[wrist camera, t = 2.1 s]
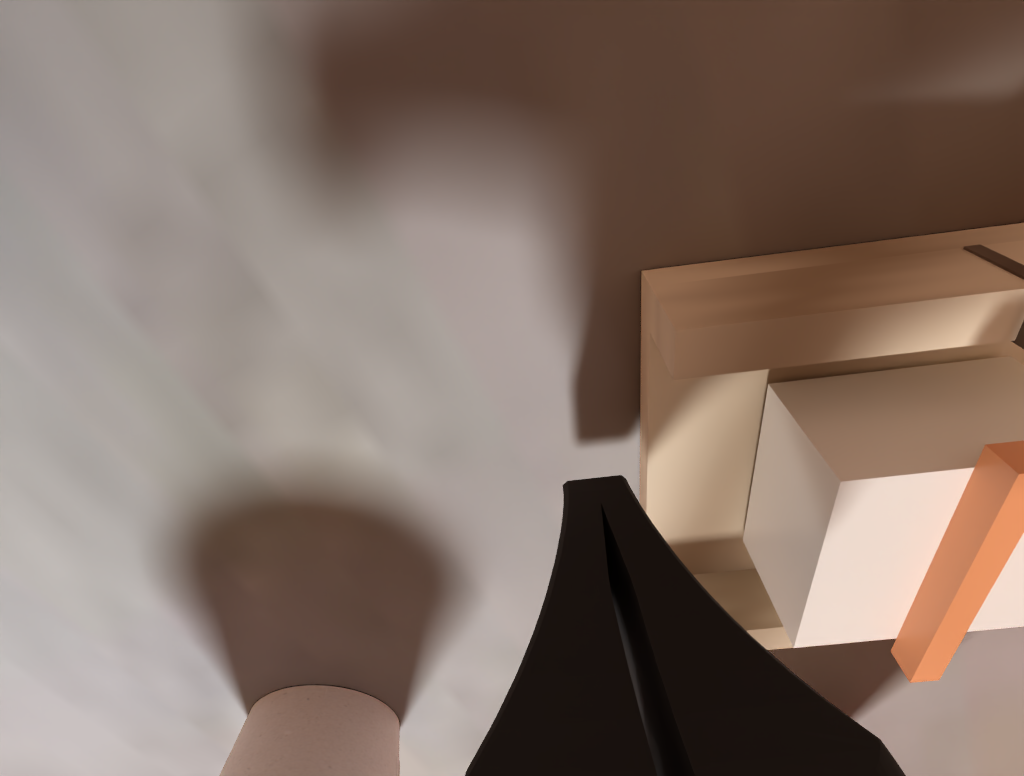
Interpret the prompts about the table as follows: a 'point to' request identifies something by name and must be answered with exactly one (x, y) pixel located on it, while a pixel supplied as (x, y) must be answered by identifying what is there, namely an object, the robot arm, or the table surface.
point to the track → (794, 369)
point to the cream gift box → (893, 507)
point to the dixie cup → (317, 735)
